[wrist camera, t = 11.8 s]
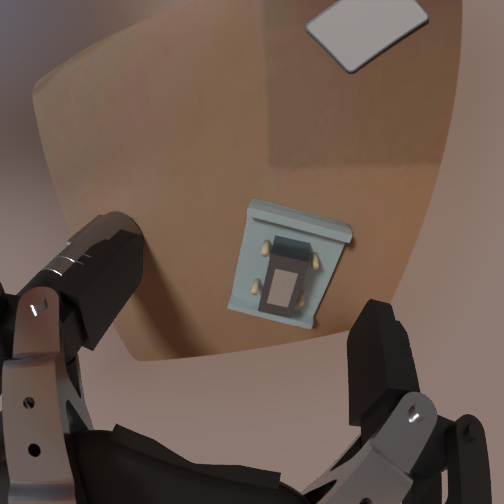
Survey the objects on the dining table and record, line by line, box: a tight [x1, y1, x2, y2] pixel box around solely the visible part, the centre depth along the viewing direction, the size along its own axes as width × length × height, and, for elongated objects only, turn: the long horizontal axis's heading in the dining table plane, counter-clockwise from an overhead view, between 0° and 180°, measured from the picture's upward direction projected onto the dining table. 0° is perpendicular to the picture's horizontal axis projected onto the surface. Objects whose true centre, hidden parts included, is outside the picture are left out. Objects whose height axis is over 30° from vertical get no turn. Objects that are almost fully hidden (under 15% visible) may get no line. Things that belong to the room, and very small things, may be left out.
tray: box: [228, 198, 352, 329], centre depth 43 cm, size 14×18×4 cm
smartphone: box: [305, 0, 428, 73], centre depth 25 cm, size 8×1×15 cm
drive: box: [258, 235, 310, 318], centre depth 42 cm, size 10×5×5 cm, turn 172°
